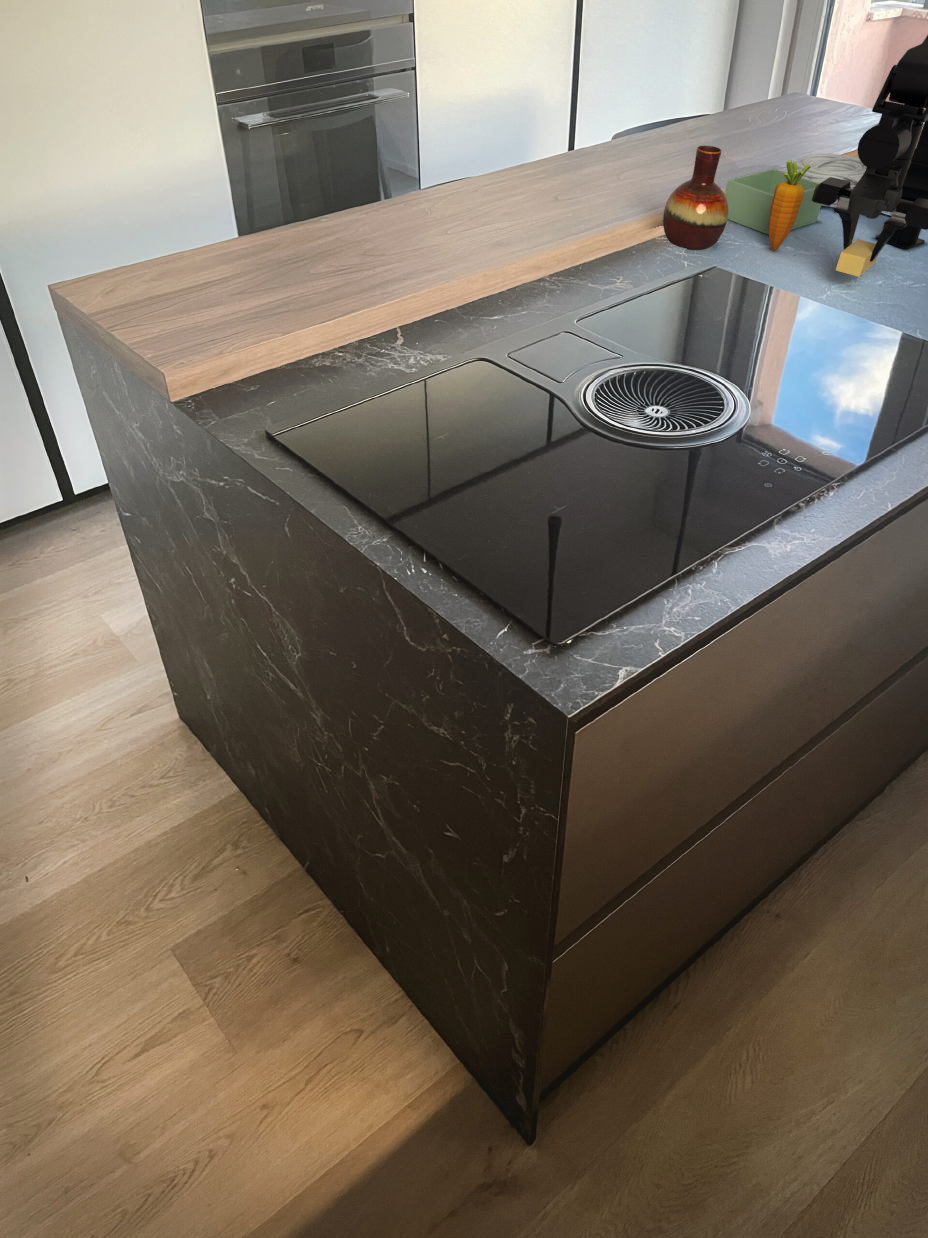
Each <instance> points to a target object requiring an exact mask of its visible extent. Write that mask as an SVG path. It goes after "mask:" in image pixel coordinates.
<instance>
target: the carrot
mask: <svg viewBox="0 0 928 1238" xmlns="http://www.w3.org/2000/svg"><path fill="white" fill-rule="evenodd" d="M810 168H811V166H810V165H808V164H807V165H806V166H805V167H804V168H803V169H802V170H801V171H800V172H799V173H798V174H797V165H796V163H795V162H794V163H793V160H792V159H788V160H786V170H787V171H786V173H785V174H784V176H785V177H786V179H787V180H788V181H785V182H781V183H779V184H778V185H777V186H776V189H775V192H774V197H773V201H772V206H771V211H770V219H769V235H768V238H769V244H770V249H771V251H773V252H775V251H777V250H778V249H779V248H780V247H781V245H782V244H783V243H784V242H785V241H786V239H787V237H788V236H789V235H790V232H791V231H792V230H791V228H792V226H793V224H794V222H795V220H796V217H797V214H798V211H799V209H800V205H801V202H802V199H803V196H804V189H803V187H802V185H801V184H799V183H797V182H798V181H799V180H800V179H801V178H802V176H803V175H804V174H805V173H806V172H807V171H808V170H809V169H810Z"/></svg>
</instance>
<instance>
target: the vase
mask: <svg viewBox="0 0 928 1238" xmlns="http://www.w3.org/2000/svg"><path fill="white" fill-rule="evenodd" d="M695 151H696V152H695V160H694V166H693V172H692V176H691V179H689V180H687V181H685V182H683V183H681V184H680V185H678V186H677V187H676V188H675V189H674V190H673V191H672V192H671V193H670V195H669V196H668V198H667V200H666V202H665V206H664V210H663V214H662V215H663V216H662V217H663V218H662V226H663V231H664V234H665V237H666V239H667V240H668V242H669V243H670V244H672V245H674V246H676V247H678V248H682V249H685V250H686V249H687V250H693V251H694V250H696V251H697V250H698V251H699V250H707V249H709V248H710V247H712V246H714V245H715V244H716V243H717V242H718V240H720V238H721V236H722V235H723V233H724V231H725V228H726V226H727V222H728V202H727V199H726V196H725V191H723V189H722V188H721V187H720V186H719V185H718V184H717V183H716V182H715V179H716V174H717V169H718V165H719V163H720V159H721V155H722V151H723V150H722V148H720V147H718V146H713V145H699V146H697V147H696V150H695Z"/></svg>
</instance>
